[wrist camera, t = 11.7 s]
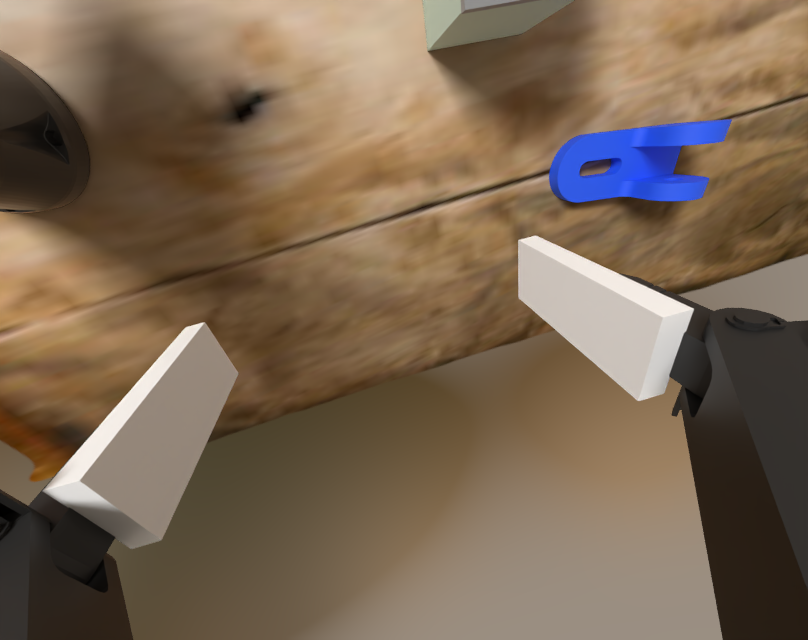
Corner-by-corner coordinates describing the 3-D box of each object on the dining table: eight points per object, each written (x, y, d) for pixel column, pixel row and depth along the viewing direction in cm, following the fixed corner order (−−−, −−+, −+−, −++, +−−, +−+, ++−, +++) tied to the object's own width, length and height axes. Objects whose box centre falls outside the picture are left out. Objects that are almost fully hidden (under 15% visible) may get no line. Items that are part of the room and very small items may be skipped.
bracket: (674, 123, 42) (749, 117, 34) (655, 187, 46) (717, 196, 38) (553, 138, 40) (603, 136, 32) (544, 203, 44) (587, 215, 37)
